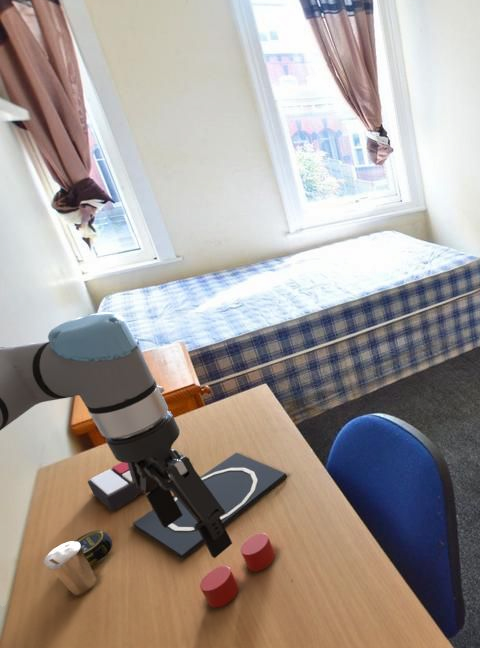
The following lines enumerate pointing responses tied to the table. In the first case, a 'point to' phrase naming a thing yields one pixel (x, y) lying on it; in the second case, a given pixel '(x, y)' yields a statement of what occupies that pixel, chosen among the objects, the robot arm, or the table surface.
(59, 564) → the milkshake
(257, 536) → the red short cylinder
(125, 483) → the calculator
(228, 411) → the table surface
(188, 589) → the table surface
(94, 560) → the tape measure
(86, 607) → the table surface
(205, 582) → the red cylinder block
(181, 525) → the face mat
